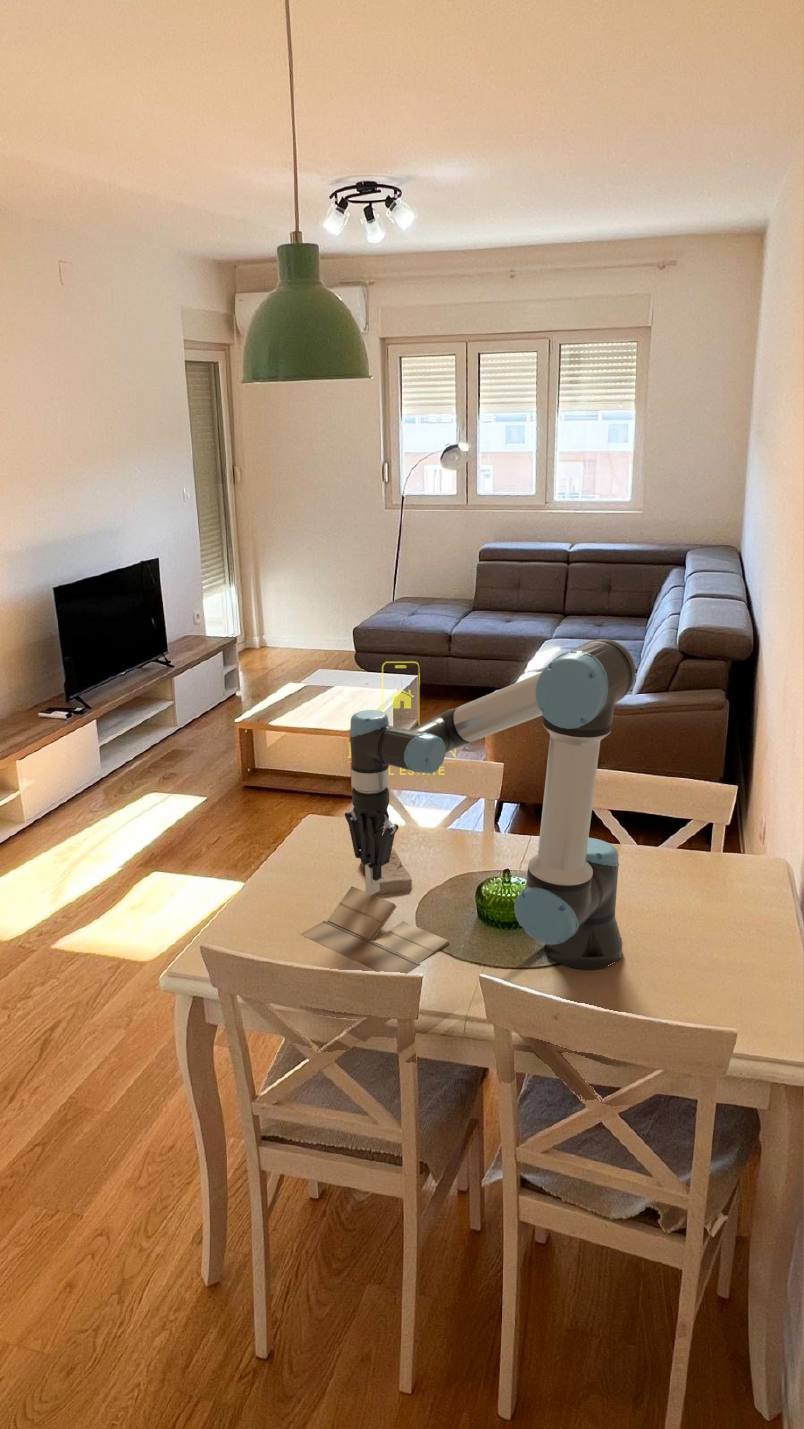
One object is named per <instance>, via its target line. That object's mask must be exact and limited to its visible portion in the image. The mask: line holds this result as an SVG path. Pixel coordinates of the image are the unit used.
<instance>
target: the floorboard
mask: <svg viewBox="0 0 804 1429" xmlns="http://www.w3.org/2000/svg"><path fill="white" fill-rule="evenodd" d="M299 935H301V936H303V937H305V938H307V939H309V940H311V941H313V942H314V943H318V944H319V945H322V946H323V947H326V948H328V949H330V950H331V951H335V952H337V953H339V954H340V955H343V956H344V957H347V958H349V959H351V960H353V961H355V962H357V963H359V964H361V965H364V966H366V967H368V968H370V969H372V970H374V971H376V972H378V971H384V972H400V973H407V974H409V973H411V972H412V971H413V970H414V969H416V968H418V967H419V966H421V965H422V964H421V963H419V962H417V961H415V960H412V959H410V958H408V957H406V956H404V955H401V954H399V953H397V952H395V951H393V950H390V949H388V948H386V947H384V946H381V945H379V944H377V943H375V942H374V941H371V940H369V939H367V938H365V937H362V936H360V935H358V934H356V933H354V932H351V931H349V930H347V929H345V928H342V927H340V926H338V925H336V924H334V923H331V922H329V921H328V920H322V922H319V923H318V924H316V925H314V926H312V927H311V928H310V927H309V929H307V930H305V931H303V932H301V933H299Z"/></svg>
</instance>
